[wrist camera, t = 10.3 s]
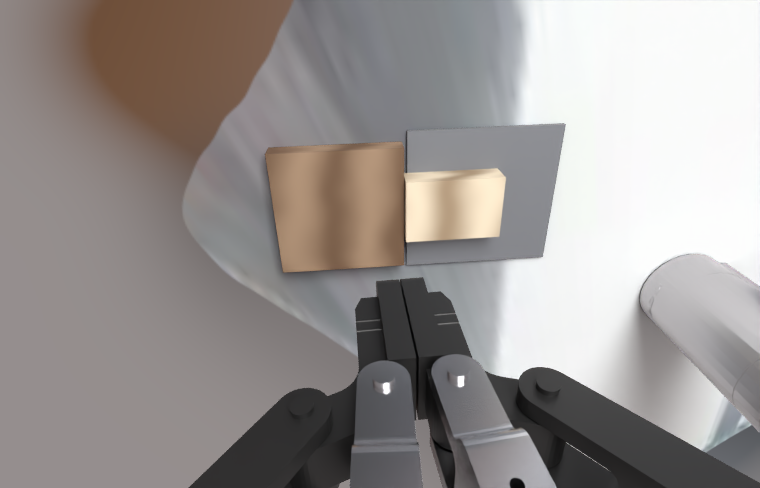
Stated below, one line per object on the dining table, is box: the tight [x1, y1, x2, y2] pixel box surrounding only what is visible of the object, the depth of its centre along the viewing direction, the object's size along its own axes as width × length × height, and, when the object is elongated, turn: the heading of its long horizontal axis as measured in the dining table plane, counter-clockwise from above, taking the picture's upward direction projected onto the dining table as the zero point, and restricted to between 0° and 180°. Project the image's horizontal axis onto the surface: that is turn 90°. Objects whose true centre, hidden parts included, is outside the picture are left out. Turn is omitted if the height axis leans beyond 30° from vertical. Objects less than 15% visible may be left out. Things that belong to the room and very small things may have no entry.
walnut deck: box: [265, 142, 404, 273], centre depth 43 cm, size 12×12×2 cm
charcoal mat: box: [406, 123, 566, 265], centre depth 44 cm, size 14×14×1 cm
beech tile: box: [404, 168, 506, 242], centre depth 43 cm, size 9×6×2 cm, turn 92°
